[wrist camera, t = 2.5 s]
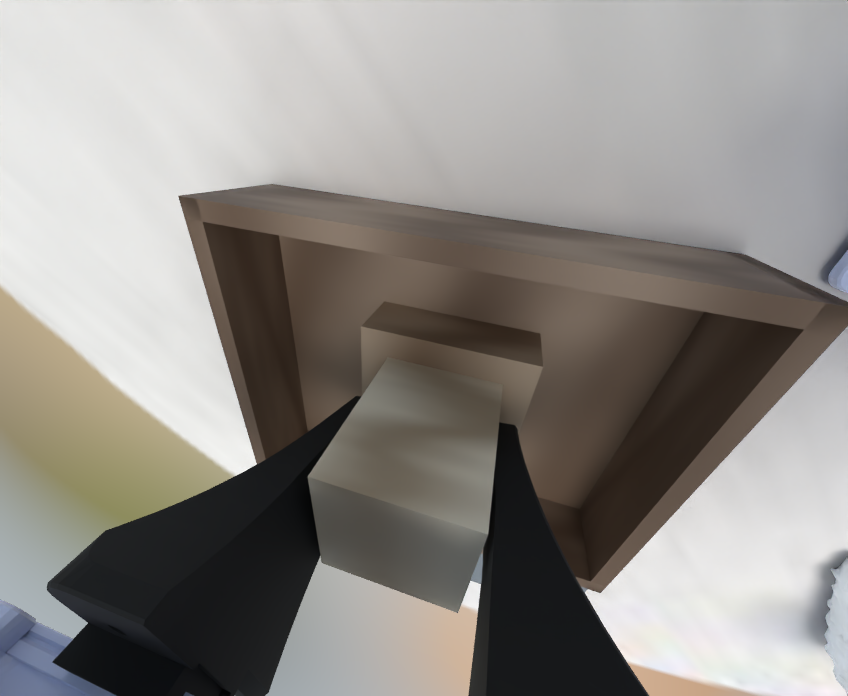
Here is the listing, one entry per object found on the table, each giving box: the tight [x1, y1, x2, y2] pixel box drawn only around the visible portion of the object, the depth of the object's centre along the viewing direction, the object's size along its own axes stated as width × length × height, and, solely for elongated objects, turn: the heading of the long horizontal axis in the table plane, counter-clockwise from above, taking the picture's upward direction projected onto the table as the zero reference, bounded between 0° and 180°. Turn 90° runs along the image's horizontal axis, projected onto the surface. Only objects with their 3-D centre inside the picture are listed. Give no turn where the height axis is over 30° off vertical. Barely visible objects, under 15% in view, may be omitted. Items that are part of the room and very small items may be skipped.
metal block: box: [308, 357, 503, 613], centre depth 10 cm, size 4×4×5 cm
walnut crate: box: [179, 184, 848, 593], centre depth 13 cm, size 16×13×4 cm
